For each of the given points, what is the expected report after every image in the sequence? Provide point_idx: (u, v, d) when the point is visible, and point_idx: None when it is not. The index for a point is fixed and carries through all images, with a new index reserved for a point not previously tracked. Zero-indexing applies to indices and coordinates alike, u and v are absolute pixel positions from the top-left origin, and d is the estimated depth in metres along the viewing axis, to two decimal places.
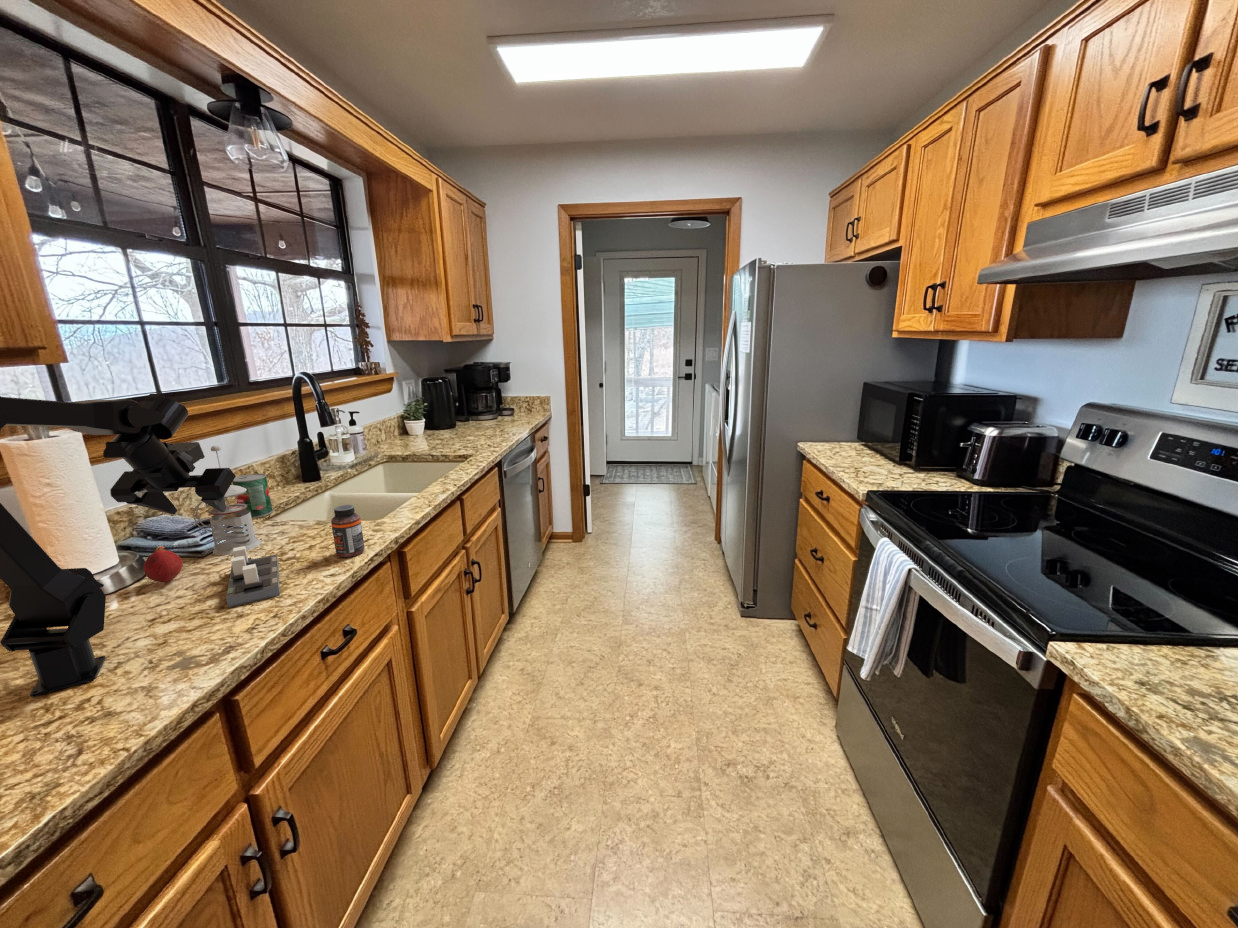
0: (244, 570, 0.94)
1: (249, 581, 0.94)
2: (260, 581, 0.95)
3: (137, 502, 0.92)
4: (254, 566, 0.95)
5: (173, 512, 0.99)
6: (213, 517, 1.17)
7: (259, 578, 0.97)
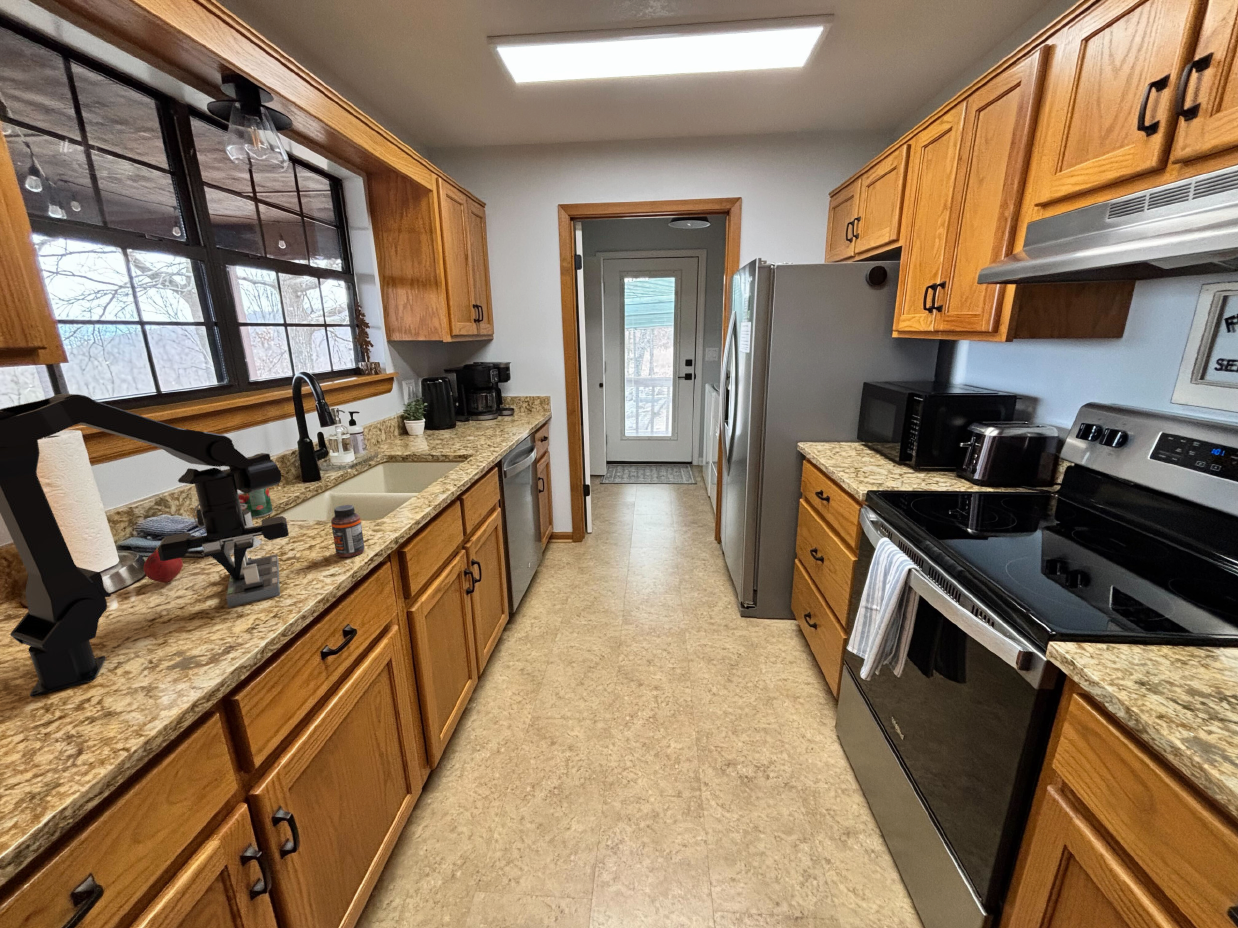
0: (245, 570, 0.94)
1: (250, 581, 0.94)
2: (261, 581, 0.95)
3: (218, 552, 0.89)
4: (255, 566, 0.95)
5: (235, 577, 0.94)
6: None
7: (260, 578, 0.97)
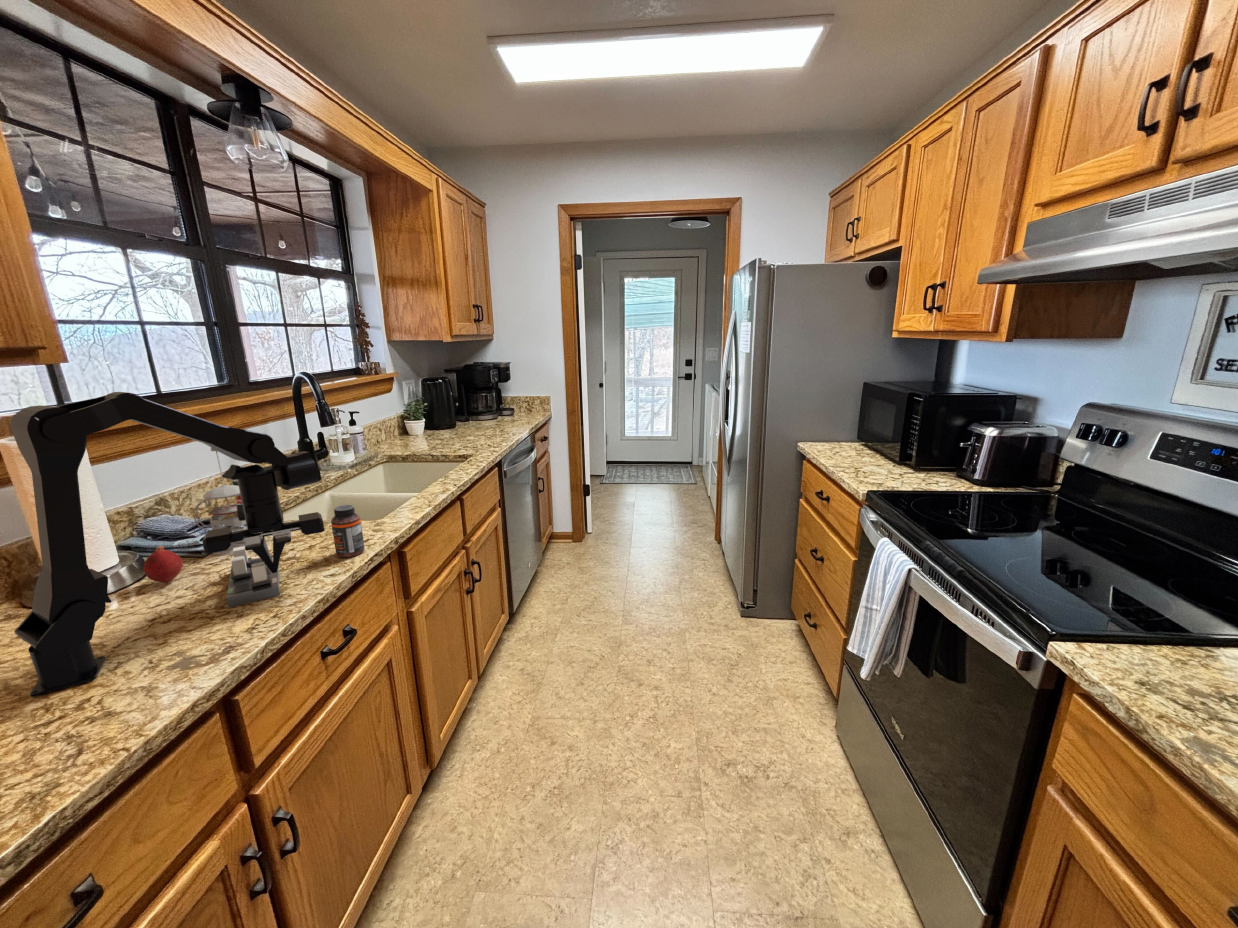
0: (253, 568, 0.94)
1: (258, 579, 0.95)
2: (269, 579, 0.96)
3: (259, 546, 0.93)
4: (263, 564, 0.96)
5: (273, 570, 0.97)
6: (213, 517, 1.17)
7: (267, 576, 0.97)
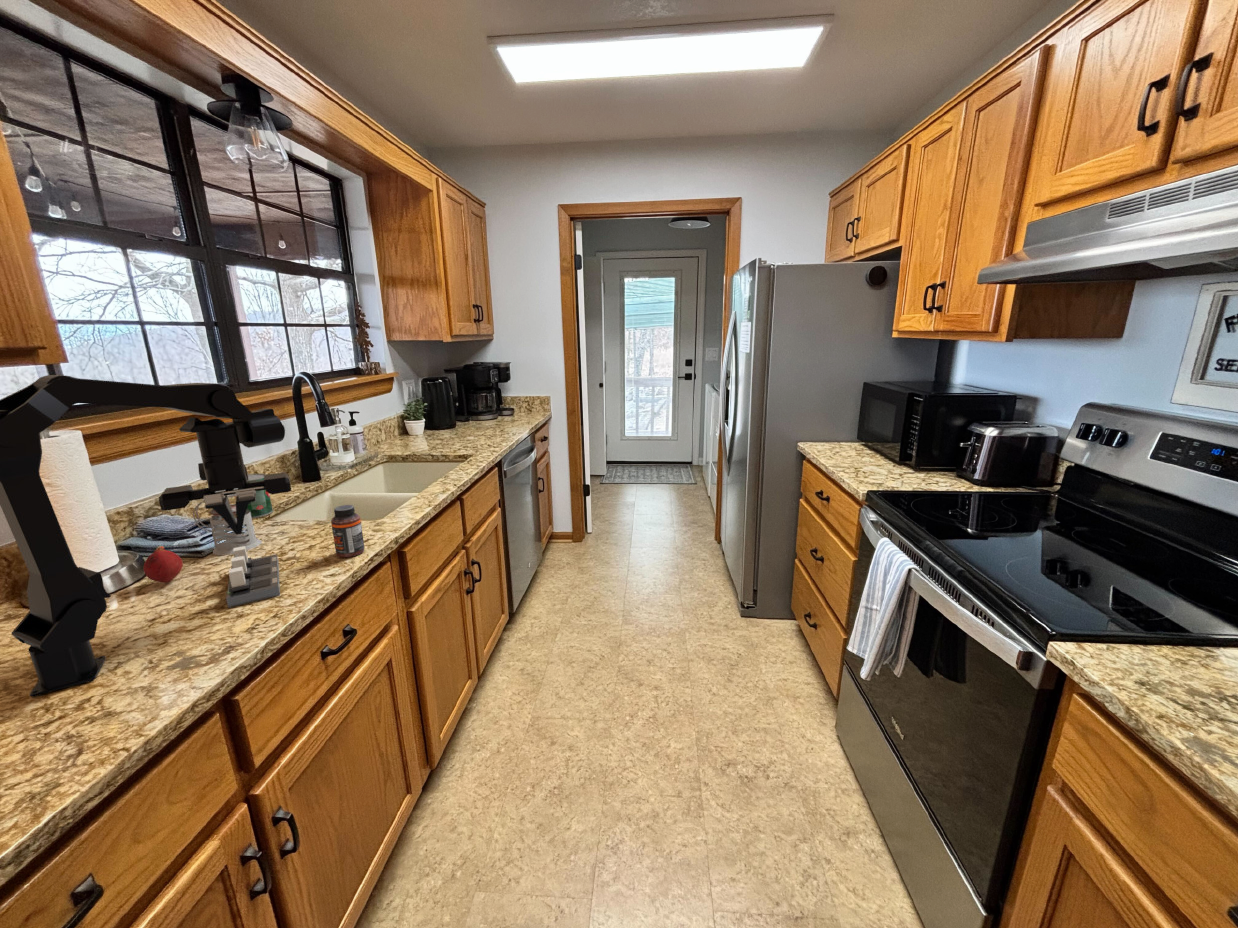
0: (230, 573, 0.93)
1: (236, 584, 0.93)
2: (247, 584, 0.94)
3: (220, 504, 0.88)
4: (241, 569, 0.94)
5: (237, 532, 0.92)
6: (213, 517, 1.17)
7: (246, 581, 0.95)
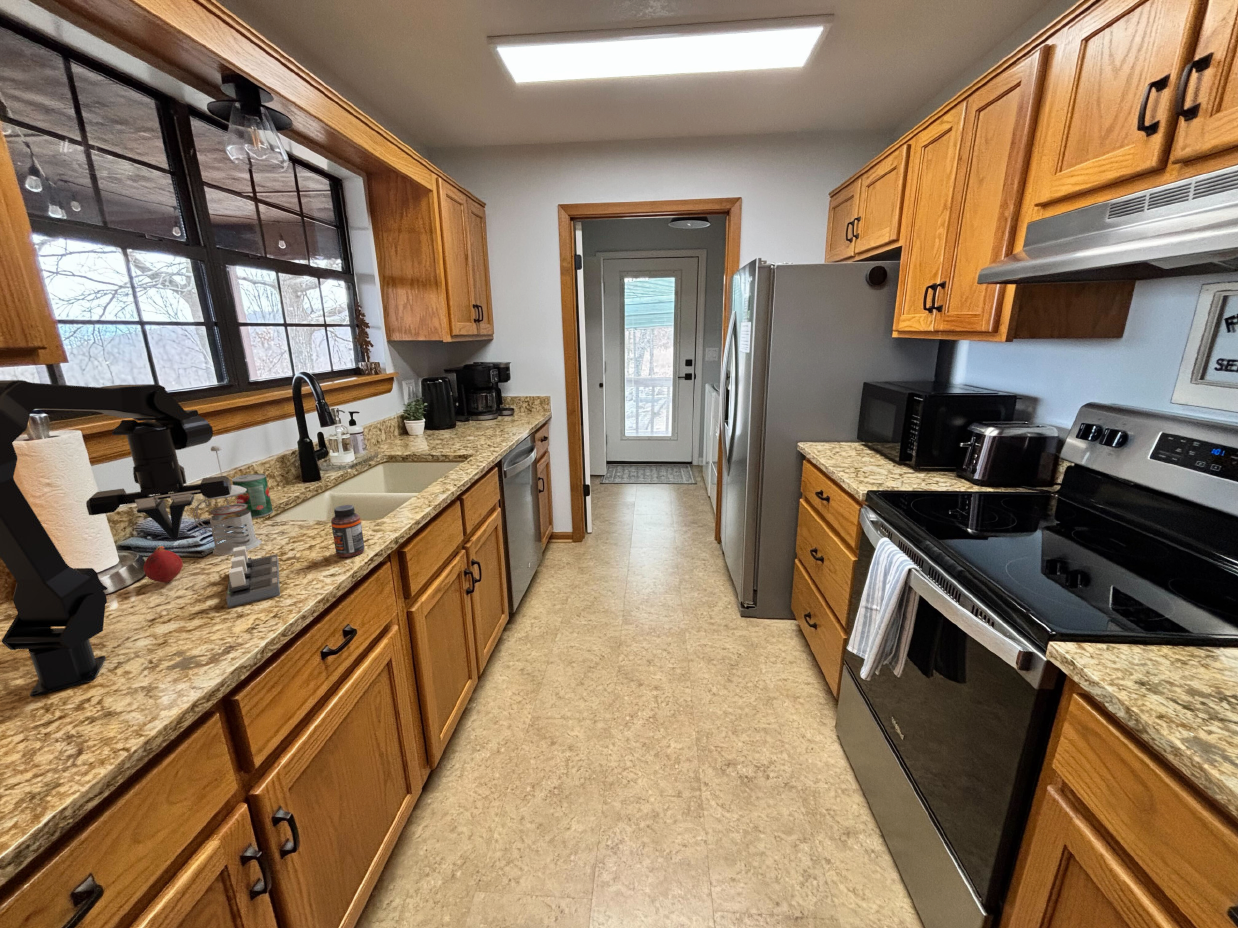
0: (230, 573, 0.93)
1: (236, 584, 0.93)
2: (247, 584, 0.94)
3: (152, 508, 0.86)
4: (241, 569, 0.94)
5: (173, 536, 0.90)
6: (213, 517, 1.17)
7: (246, 581, 0.95)
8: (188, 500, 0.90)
